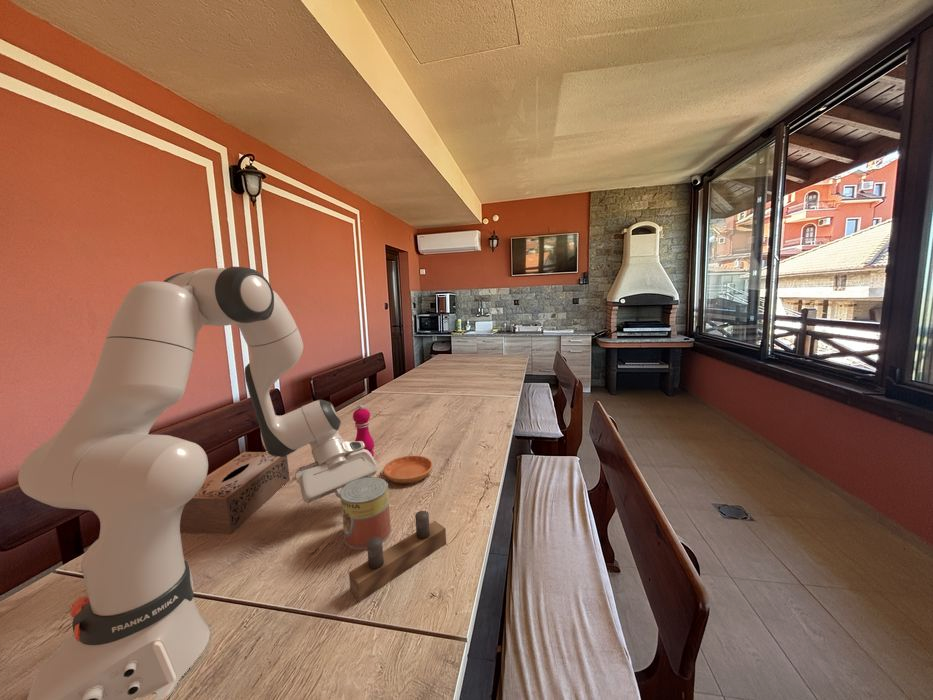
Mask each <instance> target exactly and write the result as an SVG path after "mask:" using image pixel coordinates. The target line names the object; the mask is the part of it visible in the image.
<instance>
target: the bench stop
mask: <svg viewBox="0 0 933 700" xmlns="http://www.w3.org/2000/svg"><path fill="white" fill-rule="evenodd" d="M414 517H415V518H414V519H415V532H413V533H411V534H410V535H408V536H407V537H405V538H403V539H402V540H400V541H399V542H397V543H395V544H393V545H391V546H390V547H388V548H387V549H385V550H384V548H383V542H382V539H381V538H380V537H372V538H370V539H369V540H368V541H367V549H366V551H367V560H366V561H365V562H364V563H362V564H360V565H358V566H356V567H355V568H354V569H352V570H350V571H348V579H349V588H350V591H351V592H352V594H353V595H354V596H355V597H356V598H357V600H358V601H359V602H362V601H363V600H364V599H366V598H368V597H369V596H370V595H371V596H372V594H374V593H375V592H376V591H379V589H381V588H382V587H385V586H386V585H387V584H388V583H390V582H391V581H393V580H394V579H396V578H397V577H399V576H400V575H402V574H404V572H406V571H408V570H409V569H411V568H412V567H414V566H415V565H417V564H418V563H420V562H421V561H422V560H424V559H426V558H427V557H429V556H430V555H431V554H433V553H435V552H436V551H437V550H439V549H440V548H442V547H443V546H445V545H446V544H447V534H446V533H447V531H446V527H444V526H443V525H442V524H440V523H439V522H437V521H436V520H433V521H432V522H430V514H429V512H428V511H427V510H420V511H418V512H416V513H415V516H414Z"/></svg>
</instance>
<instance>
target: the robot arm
mask: <svg viewBox="0 0 933 700" xmlns="http://www.w3.org/2000/svg"><path fill="white" fill-rule="evenodd" d="M116 310H117V311H116V313H115V314H114V317H113V319H112V321H111V324H110V326H109V328H108V331H107V334H106V337H105V341H104V344H103V347H102V349H101V352H100V356H99V359H98V361H97V365H96V367H95V370H94V373H93V375H92V379H91V381H90V383H89V385H88V388H87V390H86V392H85V394H83V395H84V396H83V397H82V399H81V400H80V402H79V403H78V405H77V406H76V408H75V409H74V410H73V412H72V413H71V415H70V417H69V418H68V419H67V420H66V421H65V423H64V424H63V426H62V427H60V429H59V430H58V431H57V432H56V433H55V435H53V436H52V437H51V438H50V439H48V440H47V441H45V442H44V443H42V444H40V445H39V446H38V447H35V449H33V450H32V451H31V452H30V453H29V454H28V455H27V456H26V458H25V459H24V461H22V464H21V466H20V467H19V471H18V475H17V480H18V481H17V482H18V485H19V488H20V490H21V491H22V492H23V493H24V494H25V495H26V496H28V497H30V498H32V499H33V500H35V501H38V502H40V503H43V504H46V505H48V506H51V507H52V508H53V507H54V508H58V509H67V510H68V509H69V510H71V509H72V510H82V511H92V512H93V513H94V514H95V515H96V516H97V517H98V520H99V525H100V529H99V535H98V538H97V539H96V540H95V541H94V542H93V543H92V544H91V545H90V546H89V547H88V549H87V550H86V551H85V552H84V554H83V556H82V559H81V563H80V564H81V565H80V566H81V571H82V575H83V579H84V580H83V581H84V583H85V584H84V585H85V588H86V592H87V596H83V597H80V598H78V599H75V600H74V601H73V603H72V604H71V611H70V613H69V615H70V617H71V618H72V631H73V634H72V635H71V636H70V638H68V639H67V640H66V641H65V642H64V644H62V645H61V646H60V647H59V648H57V650H56V651H55V652H54V653H53V654H52V655H51V656H49V657H48V659H46V660H45V662H44V663H43V664H42V666H41V667H40V668H39V670H38V672H37V673H36V676H35V678H34V679H33V680H32V681H33V682H32V684H31V686H30V688H29V691H28V695H27V698H26V699H27V700H133V699H136V698H138V697H139V698H141V697H142V698H141V699H144V698H145V697H146V696H148V695H150V694H152V695H153V694H157V696H156V698H155V699H154V700H158V699H159V700H162V699H164V698H166V696H168V695H169V694H170V693H171V692H172V690H173V689H174V687H175V685H176V684H177V682H178V680H179V679H180V677H181V676H182V675H183V674H184V673H185V672H186V671H187V669H189V667H190V666H191V665H192V664H193V663H194V661H195V660H196V659H197V658H198V657H199V655H200V654H201V653H202V652H203V650H204V649H205V647H206V645H207V646H208V644H209V641H210V636H211V630H210V627H209V624H207V623H206V622H205V620H204V618H203V617H202V615H201V613H200V611H199V610H198V607H197V605H196V602H195V599H194V591H195V588H194V581H193V576H192V571H191V568H190V567H189V564H188V562H187V561H186V559H185V556H184V551H183V545H182V543H183V542H182V536H181V533H180V519H181V514H182V511H183V508H184V506H185V504H186V503H187V502H189V501H190V500H191V499H192V498H193V497H194V496H195V495H196V494H197V493H198V491H199V490H200V489H201V487H202V485H203V484H204V481H205V479H206V476H207V475H208V471H209V461H208V460H209V459H208V455H207V453H206V451H205V450H204V449H203V448H202V447H201V446H200V445H199V443H196V442H192V441H189V440H187V439H182V438H180V437H176V436H172V435H168V434H149V433H150V430H151V429H152V427H153V426H154V424H155V422H156V421H157V420H158V418H159V417H160V416H161V415H162V414H163V413H164V412H165V411H166V410H167V409H169V408H171V407H172V406H174V405H175V404H177V403H178V402H179V401H180V400H181V399H182V398H183V396H184V395H185V392H186V388H187V383H188V379H189V376H190V372H191V368H192V363H193V360H194V359H193V358H194V355H195V351H196V348H197V347H196V346H197V339H198V335H199V332H200V330H201V329H202V328H203V326H208V327H209V326H215V327H225V326H231V325H235V326H237V328H239V331H240V332H241V335H242V337H243V339H244V341H245V343H246V345H247V347H248V350H249V355H250V360H249V362H248V364H247V365H246V366H245V367H244V378H245V383H246V386H247V387H246V388H247V391H248V394H249V397H250V401H251V404H252V407H253V410H254V413H255V416H256V420H257V422H258V426H259V429H260V438H261V442H262V446H263V447H264V450H265V452H268V453H269V454H270V455H274V456H279V457H285V456H287V457H288V456H289V455H290V454H293V453H294V452H296V451H297V450H298V449H301V448H302V447H305V446H307V445H310V449H311V451H310V452H311V454H312V457H313V462H311V463H309V464H307V465H302V466H300V467H299V468H298V469H297V470H296V471H295V473H294V478H295V480H296V482H297V484H298V485H299V487H300V493H301V497H302V500H303V502H305V503H307V504H308V503H309V504H310V503H311V502H315V501H317V500H318V499H323V498H324V497H326V496H329V495H331V494H335V496H336V497H337V498H339V499H340V500H341V497H340V491H341V489H342V488H343V487H344V486H345V485H347V484H348V483H350V482H352V481H354V480H357V479H360V478H365V477H375V475H376V474H377V472H378V469H379V466H378V464H377V461H376V460H375V458H374V456H372V455H371V453H370V452H369V451H368V450H366V449H364V447H365V445H364V443H363V442H362V441H355V440H354V441H349V440H348V441H347V440H344V438H343V436H341V434H340V432H339V429H340V426H341V422H342V421H341V419H340V418H339V417H338V415H337V411H336V408H335V406H334V404H333V403H332V402H330V401H327V400H324V399H317V400H314V401H312V402H310V403H307V404H304V405H302V406H300V407H299V408H296V409H294V410H292V411H289V412H287V413H285V414H283V415H281V414H280V415H277V414H276V411H275V409H274V405H273V402H272V397H271V395H270V391H271V389H272V387H273V385H274V384H275V383H276V382H277V381H278V380H280V379H281V377H283V376H284V375H285V374H287V373H288V372H289V371H290V370H291V369H292V368H294V367H295V365H296V364H297V363H298V362H299V360H300V358H301V357H302V355H303V352H304V342H303V339H302V336H301V332H300V330H299V328H298V326H297V324H296V321H295V319H294V317H293V315H292V314H291V312H290V311H289V308H288V307H287V305H286V304H285V303H284V301H283V299H282V298H281V297H280V295H279V294H278V293H277V292H276V291H275V290H273V288H272V286H271V283H269V281H268V279H267V278H266V277H265V276H264V275H263V274H261V272H259V271H258V270H256V269H253V268H251V267H246V266H245V267H244V266H230V267H218V268H215V267H214V268H201V269H196V270H192V271H187V272H180V273H176V274H173V275H171V276H169V277H167V278H165V279H164V280H163V281H161V280H158V281H157V280H152V281H149V280H148V281H143V282H140V283H137V284H135V285H133V286H132V287H131V288H130V289H129V290H128V292H127V293H126V295H125V297H124V298H123V300H122V301H121V303H120V305H119V307H118V308H117V309H116ZM207 643H208V644H207ZM206 648H207V647H206ZM205 650H206V649H205ZM205 650H204V651H205ZM203 653H204V652H203Z"/></svg>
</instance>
